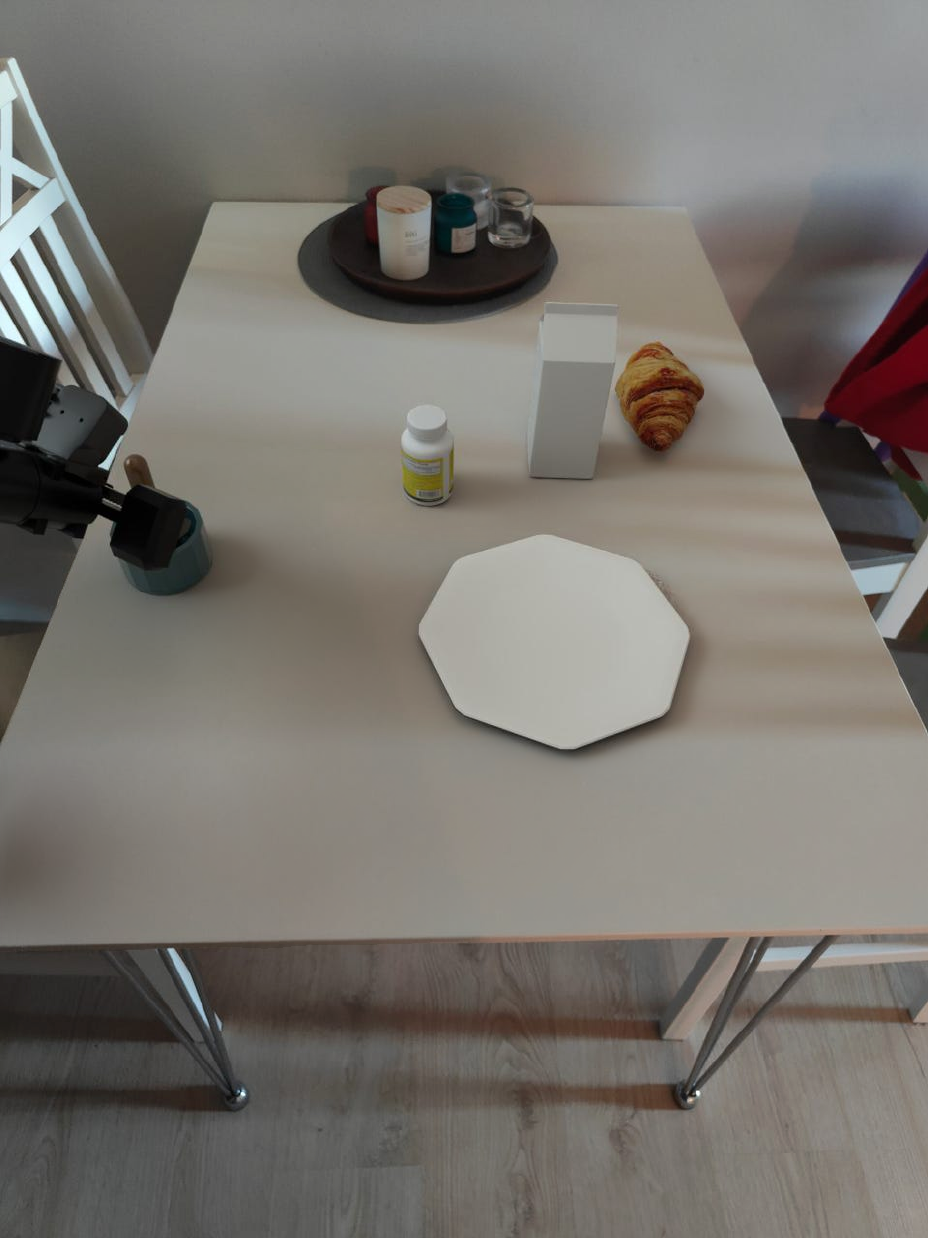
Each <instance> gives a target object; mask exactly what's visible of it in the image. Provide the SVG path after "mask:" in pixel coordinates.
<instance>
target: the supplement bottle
mask: <svg viewBox="0 0 928 1238" xmlns="http://www.w3.org/2000/svg"><path fill="white" fill-rule="evenodd" d="M406 426H407V427H406V429H405V430H404V431H403V432H402V435H401V440H400V441H401V443H400V444H401V463H402V464H401V466H402V483H403V484H402V486H403V492H404V494H405V496H406V497H407V499H408V500H410V501H411V502H413V503H415V504H417V505H419V506H423V507H434V506H437V505H441V504H442V503H444V502H446V501H447V500H448V499H449V498H451V496H452V494H453V491H454V467H455V466H454V463H455V462H454V461H455V460H454V458H455V457H454V456H455V442H454V441H455V439H454V435H453V433H452V431H451V430H450V429H449V428H448V415H447V413H446V411H445V409H443V408H441V407H439V406H437V405H434V404H433V405H432V404H422V405H418V406H415V407H414V408H411V409H410V410H409V412H408V414H407V418H406Z"/></svg>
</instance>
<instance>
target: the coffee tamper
mask: <svg viewBox="0 0 928 1238" xmlns="http://www.w3.org/2000/svg"><path fill="white" fill-rule="evenodd" d="M122 465H123V469H124V472H125V476H126V478H127V481H128V483H129V486H130V489H132V488H133V487H134V486H135V485H137V484H142V485H147V486H150V487H154V488H156V485H155V482H154V480H153V476H152V473H151V470H150V466H149V463H148V461H147V459H146V458H145V457H144V456H143V455H141V454H138V453H132V454H129V455H127V456H126V457H125V459H124V460H123V464H122ZM184 543H185V542H184V539H183V536H181V537H180V538H179V539H178V541H177V543H176V546H175V549H176V548H178V547H179V546H181V545H182V544H184ZM175 549H174V550H175Z"/></svg>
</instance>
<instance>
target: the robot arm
mask: <svg viewBox="0 0 928 1238" xmlns="http://www.w3.org/2000/svg"><path fill="white" fill-rule="evenodd" d="M62 364H63V360H62V359H60V358H59V357H56V356H53V355H51V354H49V353H47V352H44V351H41V350H39V349H37V348H34V347H31V346H29V345H26V344H24V343H21V342H18V341H16V340H13V339H11V338H8V337H5V336H3V335H0V524H3V525H12V526H16V527H18V528H20V529H22V530H24V531H26V532H28V533H29V534H32V535H36V536H45V534H46V530H47V529H49V530H56V531H58V532H60V533H63V534H65V535H67V536H69V537H71V538H73V539H77V540H78V539H79V540H84V539H85V535H86V533H87V530H88V526H89V525H92V524H93V523H94V522H95V520H96V519H97V518H98V516H100V517H102V518H104V519H106V520H108V521H111V522H112V523H113V522H115V523H116V526H115V529H114V532H113V535H112V538H110V542H109V547H110V550H111V552H112V554H113V556H114V557H116V558H117V559H118V558H120V559H122V560H124V561H126V562H128V563H130V564H132V565H134V566H137V567H139V568H141V569H143V570H145V571H156V572H161V571H163V570H165V569H167V568H168V567H169V564H170V561H171V558H172V555H173V552H174V549H175V546H176V543H177V541H178V539H179V538H180V537H181V536H183V535H184V534H186V533H187V532H188V530H189V528H190V525H191V521H190V520H188V519H186V518H185V517H186V514H187V511H188V508H187V506H186V503H185V501H186V500H185V499H182V498H180V497H177V496H175V495H173V494H171V493H168V492H166V491H164V490H162V489H159V488H156V487H155V488H154V487H150V486H147V485H142V484H137V485H135V486H134V487H133V488H132V489H131V488H130V489H129V490H128V491H127V492H126V493H123V492H121V491H119V490H116V489H114V485H113V484H111V483H109V482H108V480H109V477H110V474H111V471H110V470H109V469H106V468H104V467H101V466H99V465H102V464H103V463H104V462H105V461H107V459H108V457H109V455H110V454H111V452H112V451H113V449H114V447H115V446H116V444H117V443H118V441H119V440H120V439H121V437H122V436H124V435H125V434H126V432H127V430H128V428H129V421H128V419H127V418H126V417H125V416H124V415H123V414H122V413H121V412H120V411H119V410H118V409H117V408H115V407H114V405H112V404H111V402H109V401H108V400H107V398H105V397H104V396H102V395H100V394H97V393H94V392H92V391H90V390H87V389H85V388H82V387H81V386H78V385H76V384H68V385H62V384H60V383H58V382H57V380H58V377H59V373H60V371H61V367H62ZM184 500H185V501H184Z"/></svg>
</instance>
